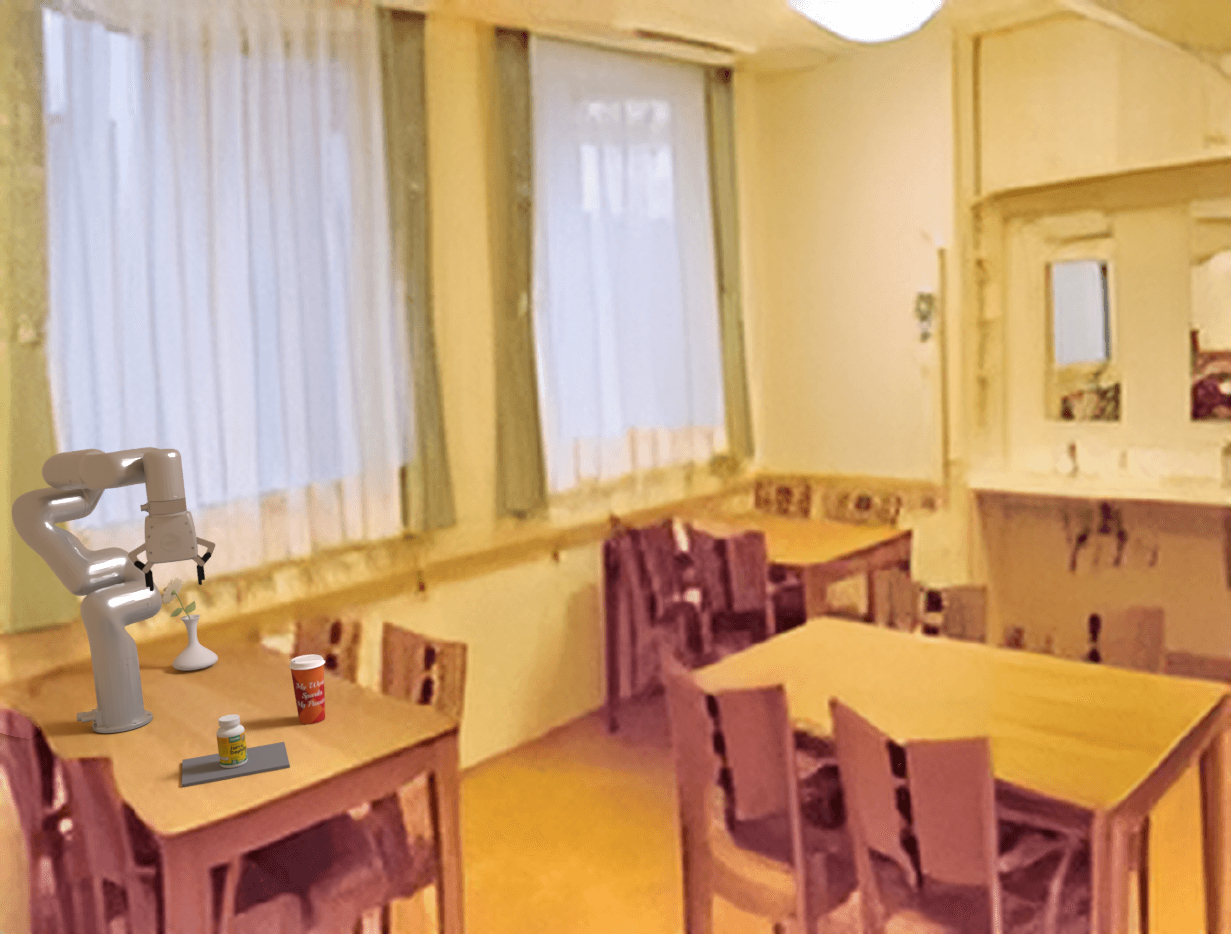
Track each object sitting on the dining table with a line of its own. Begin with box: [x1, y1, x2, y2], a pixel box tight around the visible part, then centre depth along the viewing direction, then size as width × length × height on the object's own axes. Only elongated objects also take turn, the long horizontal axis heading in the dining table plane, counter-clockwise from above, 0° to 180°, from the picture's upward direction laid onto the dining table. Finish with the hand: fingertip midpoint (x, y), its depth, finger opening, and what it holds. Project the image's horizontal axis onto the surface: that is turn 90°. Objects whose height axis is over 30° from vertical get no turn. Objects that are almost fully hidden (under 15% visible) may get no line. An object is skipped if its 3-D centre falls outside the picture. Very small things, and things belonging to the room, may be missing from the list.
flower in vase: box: [161, 577, 219, 672], centre depth 294 cm, size 13×11×25 cm
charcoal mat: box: [181, 741, 291, 788], centre depth 225 cm, size 20×14×1 cm
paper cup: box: [288, 653, 326, 725], centre depth 248 cm, size 8×8×14 cm
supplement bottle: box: [216, 713, 248, 768], centre depth 223 cm, size 5×5×10 cm
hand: (176, 587), depth 238 cm, fingers open, 9 cm apart
